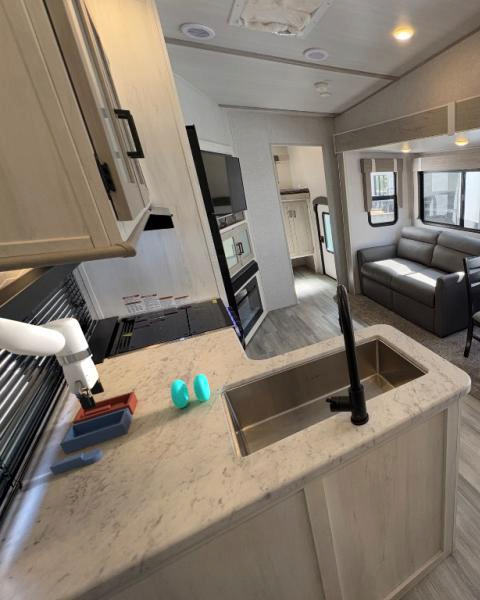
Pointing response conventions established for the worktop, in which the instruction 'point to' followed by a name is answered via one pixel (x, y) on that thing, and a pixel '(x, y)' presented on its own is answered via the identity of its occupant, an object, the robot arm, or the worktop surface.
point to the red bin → (127, 399)
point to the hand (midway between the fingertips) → (94, 400)
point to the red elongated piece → (102, 409)
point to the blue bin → (96, 430)
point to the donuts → (181, 391)
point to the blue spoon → (76, 461)
